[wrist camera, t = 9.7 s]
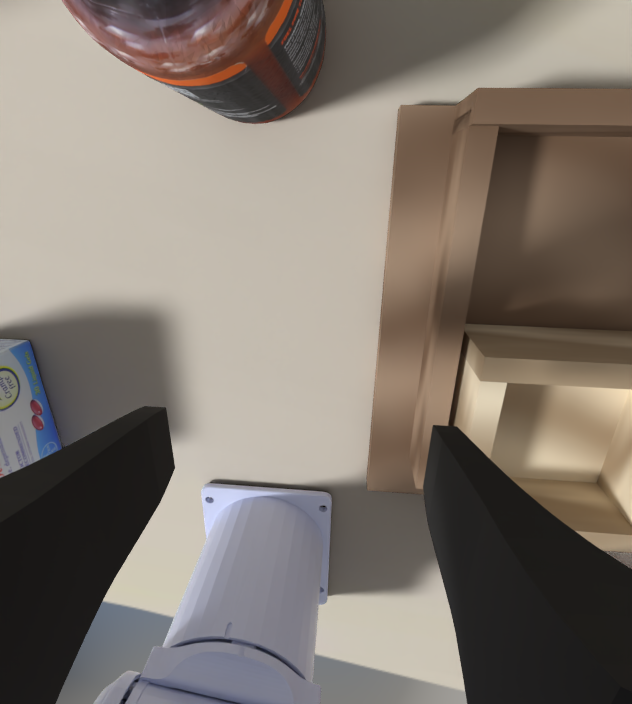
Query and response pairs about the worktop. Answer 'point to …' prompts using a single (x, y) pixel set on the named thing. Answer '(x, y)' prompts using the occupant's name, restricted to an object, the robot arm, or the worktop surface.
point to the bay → (494, 244)
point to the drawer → (554, 419)
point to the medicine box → (23, 409)
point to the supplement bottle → (216, 49)
